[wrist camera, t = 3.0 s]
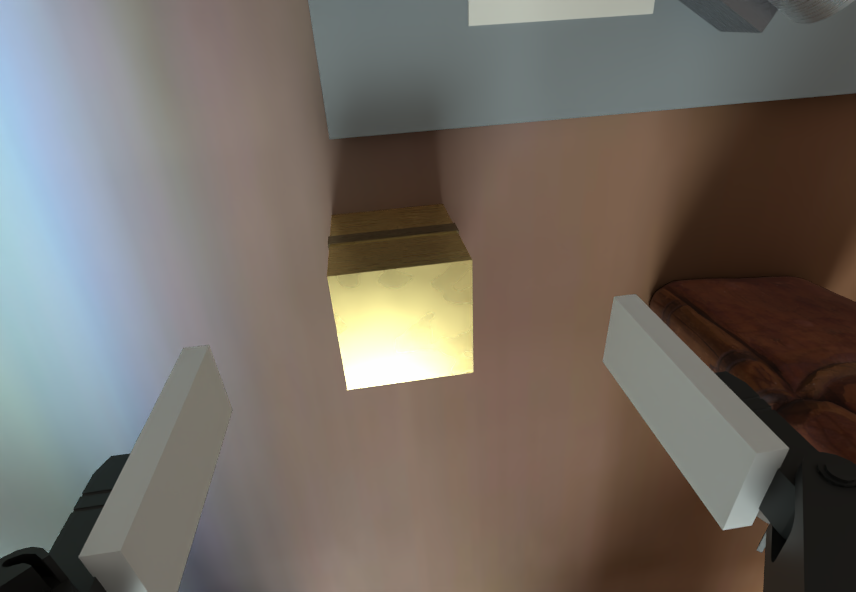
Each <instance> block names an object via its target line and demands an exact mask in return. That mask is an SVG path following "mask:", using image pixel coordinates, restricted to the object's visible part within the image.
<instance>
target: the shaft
mask: <svg viewBox="0 0 856 592" xmlns="http://www.w3.org/2000/svg"><path fill="white" fill-rule="evenodd" d="M679 1H680V2H681V3H683V4H684V5H685V6H687V7H688V8H689V9H691V10H692V11H693V12H695V13H696V14H697V15H699V16H700V17H701V18H703V19H704V20H705V21H706V22H708V23H709V24H710V25H712V26H713V27H714V28H716V29H717V30H718V31H720V32H748V33H762V32H763V31H764V29H765V28H766V27H767V25H768V24H769V22H770V21H771V19H772V18H773V17H774V15H775V14H776V12H777V11H778V10H779V11H781V12H782V13H783V14H784V15H785V16H787V17H788V18H789V19H790V20H791V21H793V22H794V23H797V24H810V23H815V22H818V21H821V20H823V19H826V18H828V17H830V16H832V15H834V14H835V13H837V12H839V11H840V10H842V9H843V8H845V7H846V6H848V5H849V4H850V3H852V2H853V1H854V0H679Z"/></svg>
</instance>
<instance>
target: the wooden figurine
mask: <svg viewBox="0 0 856 592" xmlns="http://www.w3.org/2000/svg"><path fill="white" fill-rule="evenodd" d="M649 308H650V309H651V310H652V311H653V312H654V313H655V314H656V315H657V316H658V317H659V318H660V319H661V320H662V321H663V322H664V323H665V324H666V325H667V326H668V327H669V328H670V329H671V330H672V331H673V332H674V333H675V334H676V335H677V336H678V337H679V338H680V339H681V340H682V341H683V342H684V343H685V344H686V345H687V346H688V347H689V348H690V349H691V350H692V351H693V352H694V353H695V354H696V355H697V356H698V357H699V358H700V359H701V360H702V361H703V362H704V363H705V364H706V365H707V366H708V367H709V368H710V369H711V370H712V371H713V372H714V373H717V372H724V371H727V372H728V373H730V374H732V375H734V376H735V377H737V378H739V379H741V380H742V381H744V382H746V383H747V384H748V385H749V386H750V387H751V388H752V389H753V390H754V391H755V392H756V393H757V394H758V395H759V396H760V398H761V399H764V400H765V401H766V402H767V403H768V404H769V405H770V406H771V408H772V410H775V411H776V412H777V413H778V414H779V415H781V416H782V417H783V418H784V419H785V420H786V421H787V422H788V423H789V424H790V425H791V426H792V427H793V428H794V429H795V430H796V431H797V432H798V433H799V434H801V435H802V436H803V437H804V438H805V439H806V440H807V441H808V442H809V443H810V444H811V445H812V446H813V447H814V448H815V449H816V450H818V451H819V452H825V453H830V454H835V455H838V456H840V457H843V458H845V459H847V460H850V461H851V462H853V463H854V464H856V302H854V301H852V300H850V299H848V298H845V297H843V296H840V295H838V294H836V293H834V292H831V291H829V290H827V289H825V288H823V287H820V286H818V285H816V284H814V283H812V282H810V281H807V280H805V279H802V278H798V277H788V276H785V277H758V278H739V279H727V278H717V279H691V280H679V281H673V282H670V283H668V284H667V285H665V286H664V287H662V288H660V289H659V290H658V291H657V292H656V293H655V294H654V295H653V298H652V300H651V302H650V306H649Z"/></svg>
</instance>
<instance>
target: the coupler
mask: <svg viewBox="0 0 856 592" xmlns="http://www.w3.org/2000/svg"><path fill="white" fill-rule="evenodd" d="M328 248H329V258H328V271H327V279H328V284H329V290H330V295H331V301H332V306H333V312H334V317H335V323H336V328H337V334H338V340H339V345H340V351H341V356H342V362H343V367H344V373H345V378H346V384H347V389H348V390H349V389H357V388H364V387H371V386H378V385H385V384H393V383H400V382H407V381H414V380H421V379H429V378H436V377H443V376H450V375H457V374H465V373H472V372H473V302H472V259H471V257H470V255H469V253H468V251H467V249H466V247H465V245H464V244H463V242H462V240H461V238H460V236H459V230H458V229H457V227H456V225H455V223H452V221H451V219H450V217H449V215H448V213H447V211H446V209H445V207H444V206H443V204H437V205H427V206H417V207H407V208H397V209H388V210H378V211H368V212H358V213H348V214H338V215H332V218H331V231H330V236H329V237H328Z"/></svg>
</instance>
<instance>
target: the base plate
mask: <svg viewBox="0 0 856 592" xmlns="http://www.w3.org/2000/svg"><path fill="white" fill-rule="evenodd" d="M308 3H309V9H310V16H311V22H312V29H313V35H314V42H315V48H316V54H317V61H318V67H319V74H320V80H321V87H322V93H323V100H324V106H325V113H326V119H327V126H328V132H329V139H340V138H351V137H362V136H374V135H385V134H397V133H408V132H419V131H431V130H442V129H454V128H465V127H476V126H488V125H499V124H511V123H522V122H533V121H545V120H556V119H568V118H579V117H590V116H602V115H613V114H624V113H636V112H647V111H659V110H670V109H681V108H693V107H704V106H716V105H727V104H738V103H750V102H761V101H773V100H784V99H795V98H807V97H818V96H830V95H841V94H852V93H856V0H854V1H853V2H852V3H850V4H849V5H848V6H846V7H845V8H843V9H842V10H840V11H839V12H837V13H835V14H834V15H832V16H830V17H828V18H826V19H823V20H821V21H818V22H815V23H810V24H797V23H794V22H793V21H791V20H790V19H789V18H788V17H787V16H785V15H784V14H783V13H782V12H781V11H779V10H778V11H777V12H776V14H775V15H774V17H773V18H772V19H771V21H770V22H769V24H768V25H767V27H766V28H765V29H764V31H763V32H762V33H748V32H720V31H718V30H717V29H716V28H714V27H713V26H712V25H710V24H709V23H708V22H706V21H705V20H704V19H703V18H701V17H700V16H699V15H697V14H696V13H695V12H693V11H692V10H691V9H689V8H688V7H687V6H685V5H684V4H683V3H681V2H680V1H679V0H308Z"/></svg>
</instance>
